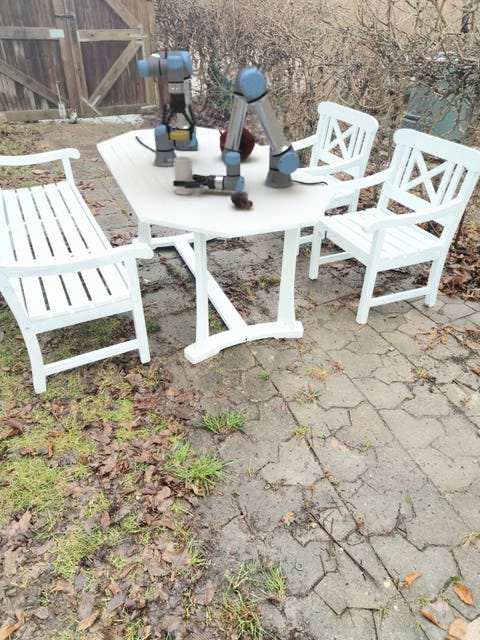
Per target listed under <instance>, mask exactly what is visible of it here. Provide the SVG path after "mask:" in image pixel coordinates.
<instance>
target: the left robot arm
mask: <svg viewBox="0 0 480 640" xmlns="http://www.w3.org/2000/svg"><path fill="white" fill-rule="evenodd" d="M137 67H138V74H139V76H140V77H141V78H167V81H168V82H167V83H168V92H169V94H168V95H169V103H165V104H163V108H164V109H163V114H162V118H161V119H162V120H161V125H158V126H156V127H155V128H154V129H153V133H154V134H153V136H154V142H155V143H154V145H155V149H152V148H151V147H149V146H148V145H146V144H144V143H143V142H142V141H141V140H140V139H139V137H138V136H137V135H135V138H136V139H137V141H138V142H139V143H140V144H141V145H142V146H144V147H146V148H147V149H149V150H151V151H152V152H154V153H155V155H154V165H155V166H157V167H163V168H164V167H165V168H167V167H168V168H169V167H174V165H173V163H174V159H175V158H177V153H176V151H175V147H189V146H194V145H195V144H196V138H197V125H198V121H197V119H196V116H195V113H194V111H193V104H192V103H191V98H190V83H189V81H190V80H191V78H192V75H193V74H194V69H193V62H192V57H191V54H190V52H189V51H188V50H167V51H166V50H162V51H157V52H154V53H152V54H151V55H149V56H148V57H147V59H139V60H138V61H137ZM169 109H171V112H170V114H169V115H168V113H169ZM175 114H176V120H177V121H176V123H175V126H173V125H172V124H170V122H171V120H172V119H173V117H174V115H175ZM179 130H184V131H189V135H190V138H189V139H184V140H174V139H171V138H170V132H172V131H179Z"/></svg>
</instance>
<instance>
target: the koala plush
mask: <svg viewBox="0 0 480 640" xmlns="http://www.w3.org/2000/svg"><path fill="white" fill-rule="evenodd" d="M174 149H176V150H179V151H197V150H198V149H199V141H198V138H197V137H196V144H195V145H194V146H189V147H174Z"/></svg>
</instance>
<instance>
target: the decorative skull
mask: <svg viewBox="0 0 480 640" xmlns="http://www.w3.org/2000/svg"><path fill="white" fill-rule="evenodd" d="M227 132H228V129H226V130H224V131H222V130H220V129H218V133H219V135H220V136H219V150H220V152H221V153H222V152H223V151H224V147H225V142H226V137H227ZM256 142H257V141H256V137H255V135H254V134H253V133H251V131H249V130H248V129H247V128H246V127H244V126H243V129H242V134H241V138H240V143H239V147H238V153H239V154H240V159H241V161H240V162H242V161H244V160H246V159H248V158H249V157H250V156H251V155H252V153H253V151H254V149H255V147H256Z"/></svg>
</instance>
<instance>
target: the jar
mask: <svg viewBox="0 0 480 640" xmlns="http://www.w3.org/2000/svg"><path fill="white" fill-rule="evenodd" d="M176 157H177V156H176ZM173 165H174V166H173V174H174V176H173V177H174V181H186V182H190V181H194V180H193V174H194V173H193V162H192V159H191V157H189V156H178V157H177V158H175V159H174V163H173ZM174 187H175V193H176V194H177V195H182V196H183V195H185V196H187V195H191V194H193V193H194V192H195V188H185V187H181V186H174Z"/></svg>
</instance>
